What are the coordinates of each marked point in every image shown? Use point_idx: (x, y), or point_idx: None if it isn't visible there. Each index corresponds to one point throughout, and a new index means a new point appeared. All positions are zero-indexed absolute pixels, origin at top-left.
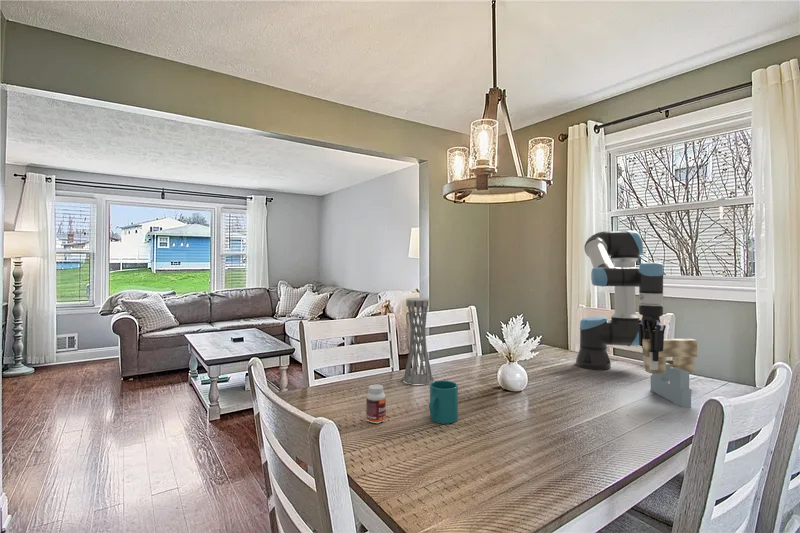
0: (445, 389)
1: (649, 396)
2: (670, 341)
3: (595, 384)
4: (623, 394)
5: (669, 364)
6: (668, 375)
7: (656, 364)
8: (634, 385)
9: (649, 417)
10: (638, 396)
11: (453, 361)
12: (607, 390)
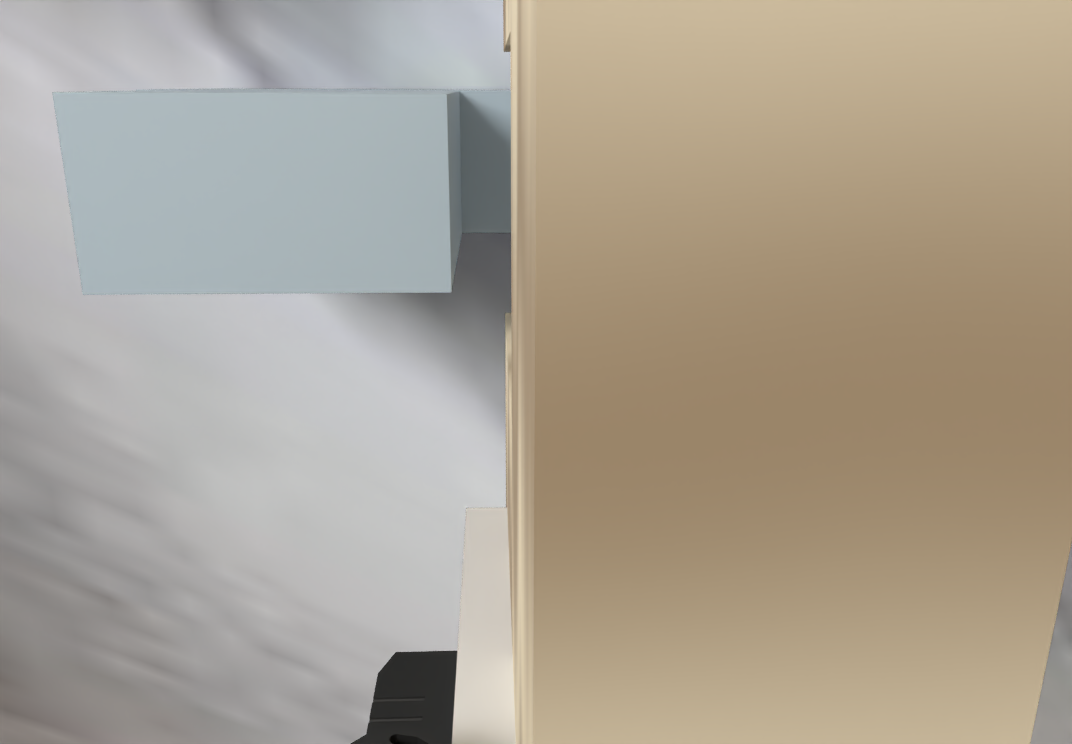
0: None
1: (483, 357)
2: (1037, 518)
3: (60, 735)
4: (417, 602)
5: (448, 100)
6: (456, 115)
7: None
8: (30, 299)
9: (1049, 677)
10: (484, 480)
11: None
12: (282, 701)
